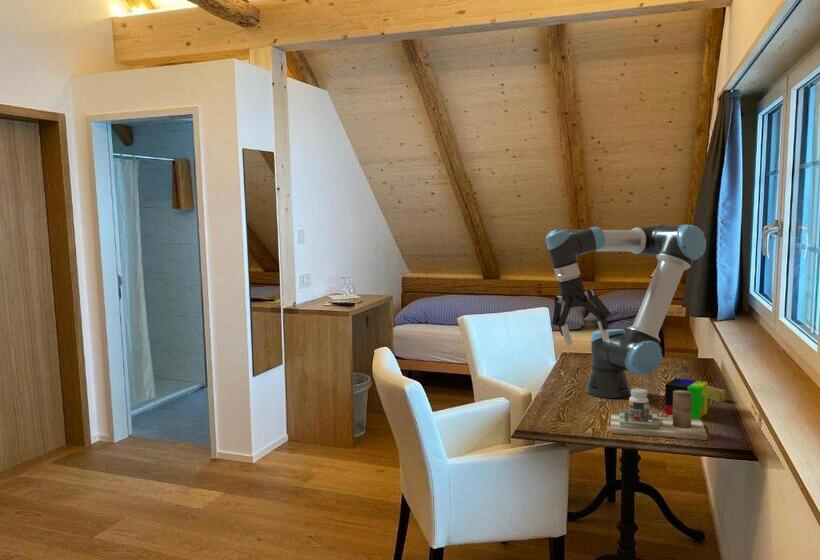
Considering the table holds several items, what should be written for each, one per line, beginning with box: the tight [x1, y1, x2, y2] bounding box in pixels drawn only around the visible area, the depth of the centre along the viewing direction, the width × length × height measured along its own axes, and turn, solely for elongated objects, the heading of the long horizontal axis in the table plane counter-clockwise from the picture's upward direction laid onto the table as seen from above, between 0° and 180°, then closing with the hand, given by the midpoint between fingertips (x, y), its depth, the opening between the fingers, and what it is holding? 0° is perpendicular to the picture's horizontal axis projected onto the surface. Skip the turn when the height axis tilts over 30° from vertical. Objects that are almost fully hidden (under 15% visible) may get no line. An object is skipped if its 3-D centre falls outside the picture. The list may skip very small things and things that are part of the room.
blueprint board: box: [610, 390, 708, 441], centre depth 191 cm, size 14×26×12 cm, turn 72°
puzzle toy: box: [664, 377, 709, 420], centre depth 205 cm, size 10×10×10 cm
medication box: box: [707, 385, 727, 403], centre depth 223 cm, size 12×3×4 cm, turn 25°
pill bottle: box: [628, 387, 650, 423], centre depth 193 cm, size 6×6×10 cm
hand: (587, 342), depth 204 cm, fingers open, 13 cm apart
